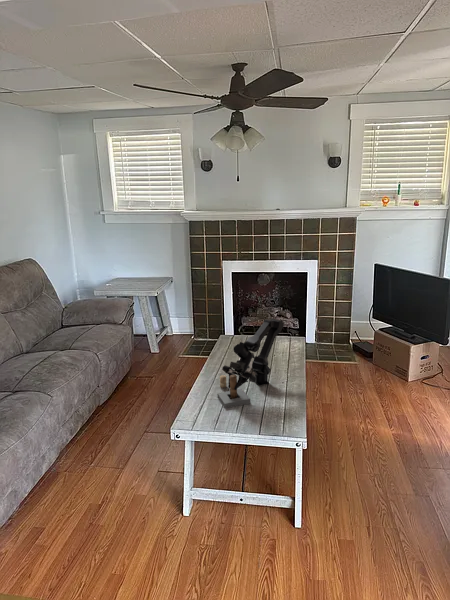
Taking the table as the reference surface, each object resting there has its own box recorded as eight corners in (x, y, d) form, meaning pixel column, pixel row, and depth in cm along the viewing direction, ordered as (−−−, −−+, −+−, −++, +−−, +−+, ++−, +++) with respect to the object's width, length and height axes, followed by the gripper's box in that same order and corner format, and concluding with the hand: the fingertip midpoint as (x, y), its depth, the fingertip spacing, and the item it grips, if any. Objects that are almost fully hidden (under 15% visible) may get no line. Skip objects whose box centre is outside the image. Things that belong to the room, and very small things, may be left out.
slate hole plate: (242, 392, 229) (241, 388, 229) (250, 403, 218) (250, 398, 218) (217, 397, 225) (217, 393, 224) (224, 408, 214) (224, 403, 213)
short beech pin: (225, 384, 239) (225, 374, 238) (227, 387, 236) (227, 377, 234) (219, 385, 238) (218, 375, 237) (221, 388, 235) (221, 378, 233)
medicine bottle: (252, 367, 261) (252, 349, 258) (249, 372, 255) (249, 353, 251) (241, 366, 263) (240, 348, 260) (238, 371, 256) (238, 352, 253)
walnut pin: (233, 396, 224) (233, 374, 220) (238, 399, 221) (238, 376, 218) (228, 399, 221) (228, 376, 218) (233, 401, 219) (233, 378, 215)
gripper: (223, 351, 224) (210, 377, 219) (252, 359, 212) (239, 387, 207) (233, 360, 232) (220, 385, 227) (261, 368, 220) (249, 395, 215)
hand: (231, 388), depth 219 cm, fingers closed on walnut pin, 4 cm apart
